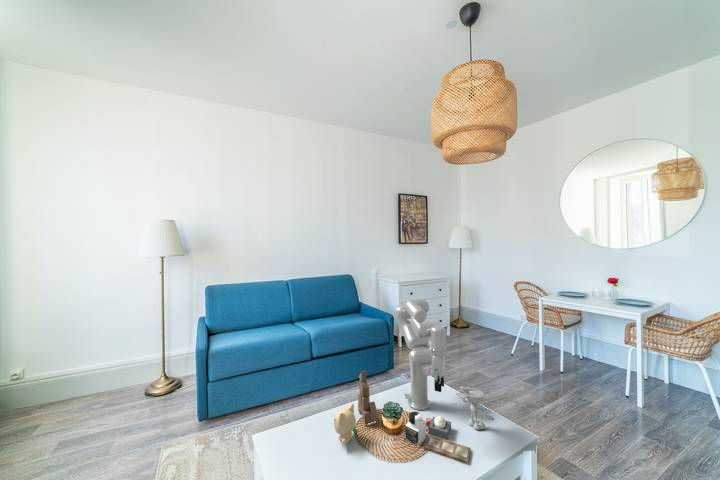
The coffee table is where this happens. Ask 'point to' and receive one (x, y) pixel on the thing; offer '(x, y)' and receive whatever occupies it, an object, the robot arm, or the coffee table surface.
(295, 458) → the coffee table surface
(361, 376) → the wooden toy
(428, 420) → the red die
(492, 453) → the coffee table surface
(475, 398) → the cartoon character
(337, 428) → the kitten
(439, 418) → the dome
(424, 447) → the frame
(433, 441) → the board
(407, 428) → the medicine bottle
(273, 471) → the coffee table surface
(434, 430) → the dome housing
